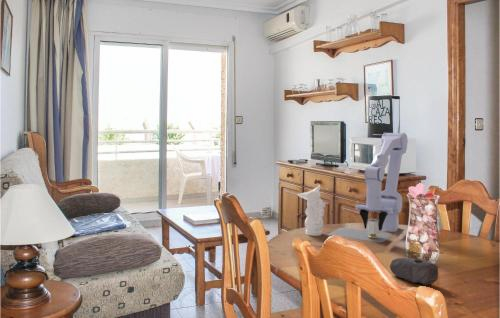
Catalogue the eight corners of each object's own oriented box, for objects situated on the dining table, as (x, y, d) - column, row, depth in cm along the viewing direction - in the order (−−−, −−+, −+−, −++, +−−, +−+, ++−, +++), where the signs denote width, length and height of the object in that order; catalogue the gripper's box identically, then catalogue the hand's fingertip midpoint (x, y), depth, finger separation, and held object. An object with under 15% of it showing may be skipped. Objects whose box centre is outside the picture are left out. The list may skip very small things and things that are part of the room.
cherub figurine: (318, 241, 177) (318, 187, 176) (290, 237, 184) (291, 185, 182) (329, 235, 188) (330, 184, 186) (302, 231, 194) (303, 182, 192)
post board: (340, 230, 195) (340, 216, 195) (392, 237, 183) (393, 222, 183) (326, 238, 182) (327, 223, 181) (382, 246, 170) (383, 229, 169)
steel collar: (368, 230, 181) (368, 218, 181) (381, 232, 178) (381, 219, 178) (364, 233, 176) (365, 220, 176) (377, 234, 174) (378, 222, 173)
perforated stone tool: (385, 275, 136) (385, 254, 136) (395, 272, 139) (395, 251, 139) (429, 290, 124) (430, 266, 124) (439, 286, 127) (440, 263, 127)
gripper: (353, 195, 177) (352, 228, 178) (389, 198, 169) (388, 233, 170) (358, 193, 183) (358, 225, 184) (394, 196, 175) (393, 229, 176)
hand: (373, 229), depth 177 cm, fingers closed on steel collar, 5 cm apart
